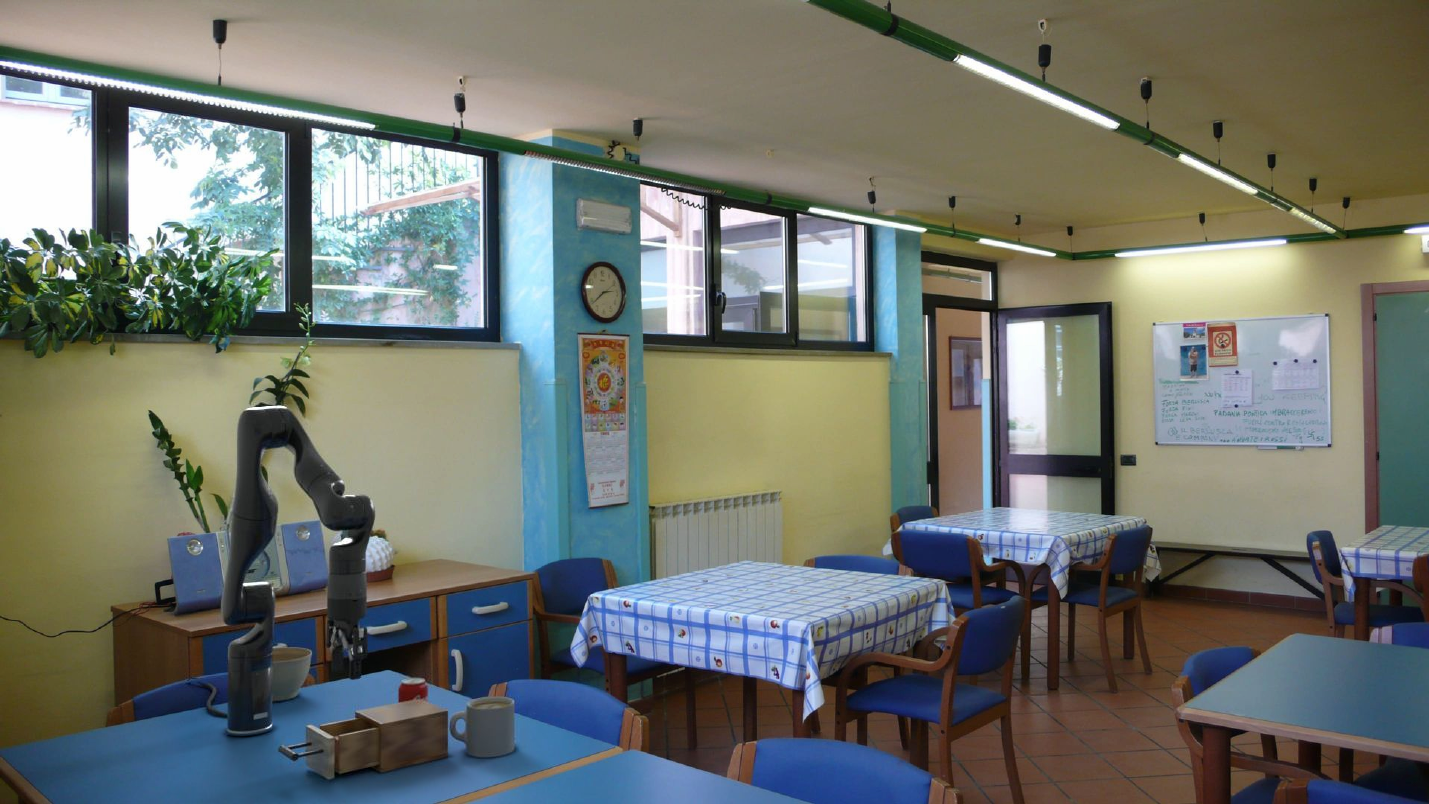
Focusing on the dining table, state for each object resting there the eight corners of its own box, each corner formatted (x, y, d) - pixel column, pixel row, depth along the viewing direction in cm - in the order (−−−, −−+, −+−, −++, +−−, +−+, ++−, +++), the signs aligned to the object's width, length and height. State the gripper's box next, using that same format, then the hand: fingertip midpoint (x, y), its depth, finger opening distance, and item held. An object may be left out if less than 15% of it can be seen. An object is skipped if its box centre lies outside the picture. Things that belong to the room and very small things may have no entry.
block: (332, 759, 209) (332, 736, 209) (353, 754, 212) (354, 732, 212) (341, 764, 205) (341, 742, 206) (363, 760, 209) (363, 737, 209)
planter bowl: (228, 704, 256) (228, 659, 257) (266, 687, 272) (267, 646, 273) (288, 707, 254) (288, 662, 254) (323, 690, 270) (324, 648, 270)
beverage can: (419, 739, 228) (419, 684, 229) (392, 737, 230) (393, 683, 230) (432, 731, 235) (432, 677, 235) (406, 729, 236) (407, 676, 236)
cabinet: (381, 772, 207) (381, 724, 207) (354, 757, 216) (354, 711, 216) (447, 756, 217) (448, 710, 217) (419, 743, 226) (420, 698, 226)
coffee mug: (519, 743, 226) (519, 697, 226) (506, 758, 216) (507, 709, 216) (459, 741, 227) (459, 695, 227) (443, 756, 217) (444, 708, 217)
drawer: (295, 786, 196) (296, 745, 196) (273, 771, 205) (274, 731, 205) (394, 763, 209) (394, 725, 210) (370, 750, 218) (370, 713, 218)
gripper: (314, 591, 213) (313, 671, 212) (343, 601, 202) (342, 685, 202) (350, 587, 218) (349, 665, 217) (380, 597, 207) (379, 678, 207)
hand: (346, 674), depth 210 cm, fingers open, 8 cm apart
